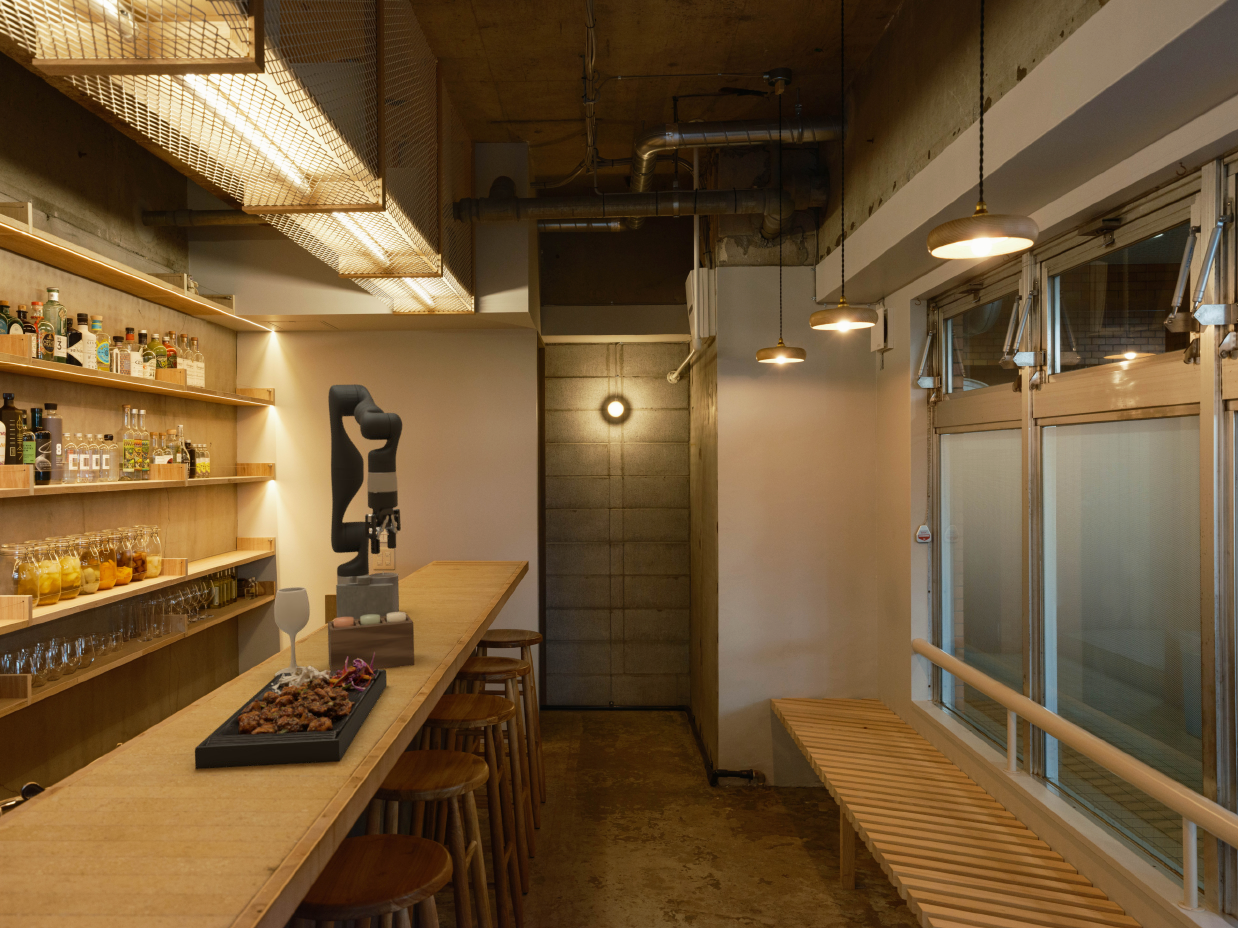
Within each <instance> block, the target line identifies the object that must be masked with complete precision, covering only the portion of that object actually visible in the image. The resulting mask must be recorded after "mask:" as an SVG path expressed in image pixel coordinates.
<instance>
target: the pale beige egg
mask: <svg viewBox="0 0 1238 928" xmlns="http://www.w3.org/2000/svg"><path fill="white" fill-rule="evenodd" d="M406 614H407V613H406V612H404V611H399V612H391V613H388V614H387V623H389V622H399V621H406Z"/></svg>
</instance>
